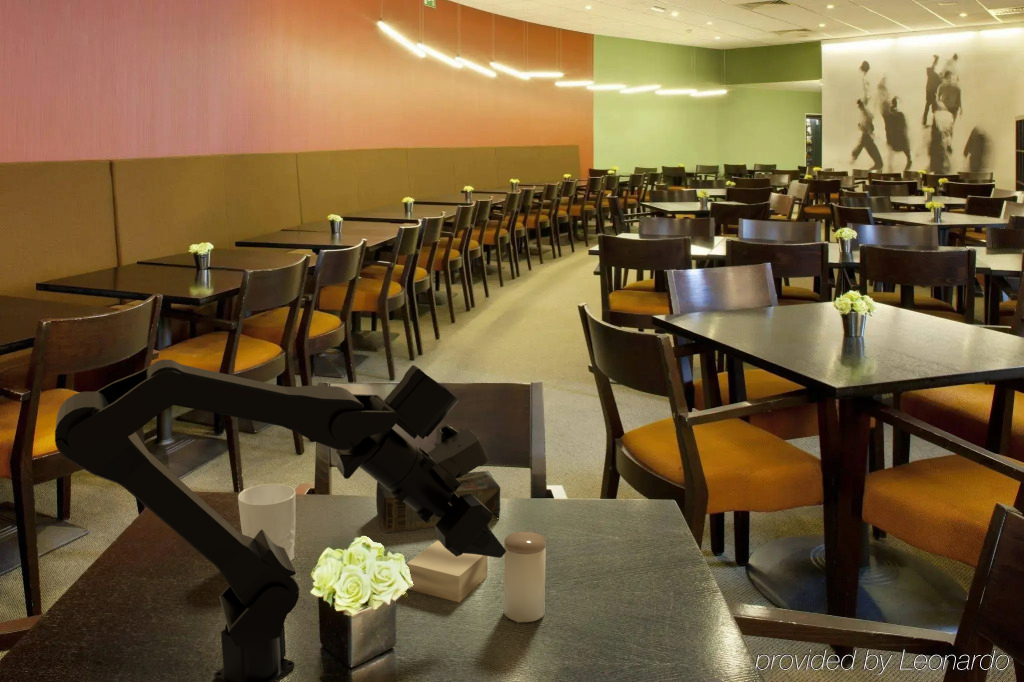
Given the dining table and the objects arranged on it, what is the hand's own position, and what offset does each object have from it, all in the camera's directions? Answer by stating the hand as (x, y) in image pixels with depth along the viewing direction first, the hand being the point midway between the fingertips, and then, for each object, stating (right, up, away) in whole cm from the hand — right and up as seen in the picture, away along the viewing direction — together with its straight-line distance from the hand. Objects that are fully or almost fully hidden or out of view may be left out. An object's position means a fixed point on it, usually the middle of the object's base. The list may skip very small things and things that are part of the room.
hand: (488, 538), depth 111 cm
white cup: (-32, -7, +19) cm, 38 cm away
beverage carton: (-9, -4, +34) cm, 35 cm away
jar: (+4, -11, +4) cm, 12 cm away
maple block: (-6, -9, +12) cm, 16 cm away
